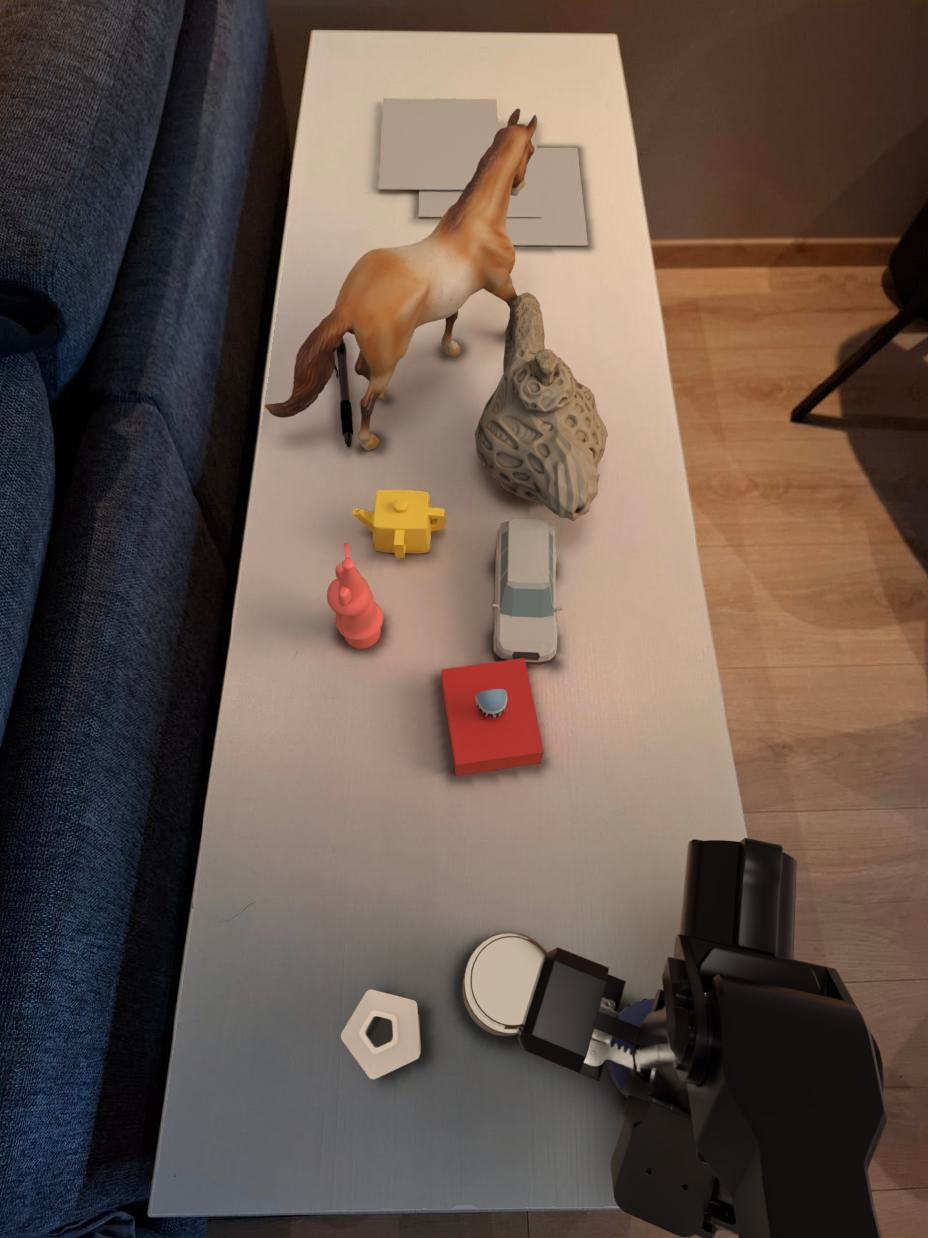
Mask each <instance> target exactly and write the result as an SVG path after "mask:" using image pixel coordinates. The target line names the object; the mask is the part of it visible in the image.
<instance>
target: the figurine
mask: <svg viewBox="0 0 928 1238" xmlns="http://www.w3.org/2000/svg"><path fill="white" fill-rule="evenodd" d="M343 552H344V559H343V560H342V562H341V564H337V565H336V566H335V570H334V572H335V576H336V578H334V579H333V580H332V581H331V582H330V583H329V585H328V587H327V591H326V601H327V604H328V606H329V608H330V609H331V611H332V612H333V613H335V619H334V622H335V626H336V628H337V630H338V632H339V634H341V635H342V636H343V637H344V640H345V642H346V643H347V644H348V645H349V646H351V647H352V648H354V649H362V650H363V649H368V648H370V647H372V646H374V645H375V644H376V643H377V642H378V641H379V639H380V637H381V633H382V629H381V628H382V625H383V623H384V614H383V610H382V608H381V607H380V605H379V604H378V603H377V602H376V601H375V599H374V594H373V592H372V590H371V588H370V585H369V582H367V579H365V578H364V577H363V576H362V574H361V573H360V571H359V569H358V568H356V567H355V562H354V560H353V559H352V558H351V554H350V544H349V542H344V543H343Z"/></svg>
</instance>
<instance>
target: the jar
mask: <svg viewBox="0 0 928 1238" xmlns="http://www.w3.org/2000/svg"><path fill="white" fill-rule="evenodd" d="M546 953H548V951H547V950H546V949H545V948H544V946H543V945H541V944H540V943H539V942H538V941H536V940H535V939H534V938H532V937H530V936H528V935H525V934H523V933H518V932H509V931H508V932H500V933H496V934H493V935H491V936H490V937H487V938H486V939H484V940H483V941H481V942H480V943H479V944H478V945H477V946H476V947H475V949H474V950H473V951H472V953H471V954H470V956H469V957H468V959H467V962H466V965H465V968H464V973H463V978H462V987H461V991H462V992H461V993H462V999H463V1003H464V1006H465V1009H466V1011H467V1013H468V1015H469V1017H470V1018H471V1020H473V1022H474V1023H475V1024H476V1025H477V1026H478V1027H480V1028H481V1029H482V1030H483V1031H486V1032H487V1033H489V1034H492V1035H495V1036H501V1037H511V1036H515V1035H519V1032H520V1029H521V1028H522V1025H523V1023H524V1020H525V1017H526V1014H527V1010H528V1007H529V1004H530V1001H531V998H532V994H533V991H534V988H535V985H536V982H537V978H538V975H539V972H540V969H541V966H542V963H543V959H544V956H545V954H546Z"/></svg>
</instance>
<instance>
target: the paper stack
mask: <svg viewBox="0 0 928 1238" xmlns="http://www.w3.org/2000/svg"><path fill="white" fill-rule="evenodd" d="M529 123H530V122H517V124H524V125H526V126H528V124H529ZM507 124H508V122H498V101H497V98H408V97H407V98H405V97H404V98H403V97H402V98H400V97H396V98H395V97H393V98H391V97H390V98H387V97H385V98H382V115H381V133H380V151H379V152H380V153H379V174H378V190H418V217H419V218H422V217H425V218H429V217H430V218H433V217H434V218H442V217H443V215H444V214H445V213H446V212H447V211H448V209H449V208H450V207H451V206H452V205H454V204H455V203H456V202H457V201H458V199H459V197H460V195H461V194H462V193H463V191H464V189H465V188H466V186H467V184H468V183H469V182H470V181H471V179H472V177H473V176H474V173H475V172H476V169H477V166H478V163H479V161H480V159H481V158H482V157H483V155H484V154H485V152H486V151H487V149H488V148H489V147H490V146H491V145H492V143H493V141H494V137H495V135H496V133H497V132H498V131H499V130H500V129H501V128H505V127H507ZM537 142H538V141H537V130H535V132H534V134H533V136H532V138H531V143H532V145H533V146H534V148H535V151H534V153H533V155H532V156H531V158H530V160H529V162H528V164H527V168H526V173H525V179H526V185H525V186H524V187H523V188H522V189H521V190H520V191H519V193H518V195H517V196H512V195H510V201H509V205H508V210H507V217H506V234H507V235H508V236H509V238H510V241H511V243H512V245H513V246H574V247H575V246H576V247H577V246H583V247H584V246H585V247H586V246H587V247H588V246H589V242H588V233H587V224H586V223H587V222H586V214H585V213H586V212H585V206H584V195H583V187H582V186H583V185H582V178H581V169H580V159H579V150H578V147H538V143H537Z"/></svg>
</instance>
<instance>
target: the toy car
mask: <svg viewBox="0 0 928 1238" xmlns="http://www.w3.org/2000/svg"><path fill="white" fill-rule="evenodd" d="M557 558H558V557H557V548H556V529H555V527H554V524H552V523H550V522H549V521H547V520H545V519H529V518H512V519H509V520H506V521H503V522H501V524H500V525H499V527H498V529H497V531H496V543H495V556H494V600H493V601H494V603H492V607H491V608H492V609H493V612H494V613H493V632H492V633H493V634H492V635H493V636H492V650H493V656H494V658H496V659H497V660H499V661H506V660H513V659H521V658H525V663H526V665H536V666H537V665H538V666H541V665H546V664H549V663H551V662H553V661H554V660H555V659H556V655H557V650H558V649H557V648H558V638H559V637H558V624H557V612H560V611H563V606H557V598H556V597H557V595H556V594H557V593H556V591H557V590H556V589H557V588H556V587H557V586H556V580H557V579H556V572H557Z"/></svg>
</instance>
